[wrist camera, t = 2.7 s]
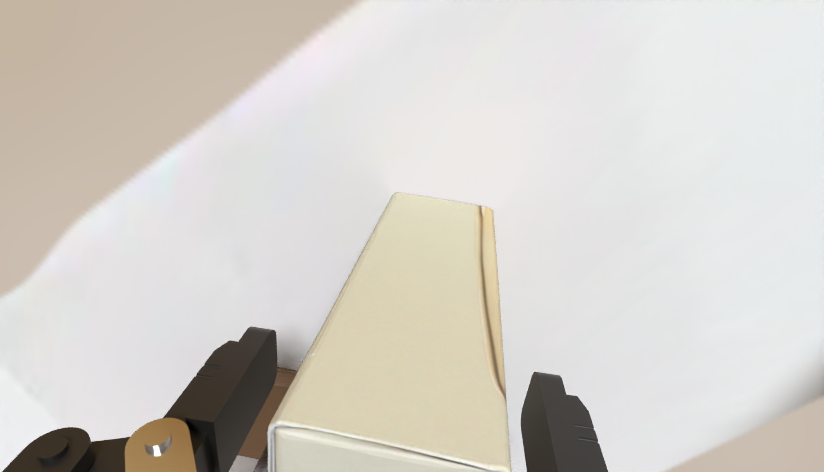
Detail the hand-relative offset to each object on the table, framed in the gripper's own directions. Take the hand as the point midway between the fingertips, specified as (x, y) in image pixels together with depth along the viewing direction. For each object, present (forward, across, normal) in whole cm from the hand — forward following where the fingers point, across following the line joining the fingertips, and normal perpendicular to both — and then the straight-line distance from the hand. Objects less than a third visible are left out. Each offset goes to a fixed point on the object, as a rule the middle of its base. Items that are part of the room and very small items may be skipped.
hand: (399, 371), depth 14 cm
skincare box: (+7, 0, 0) cm, 7 cm away
